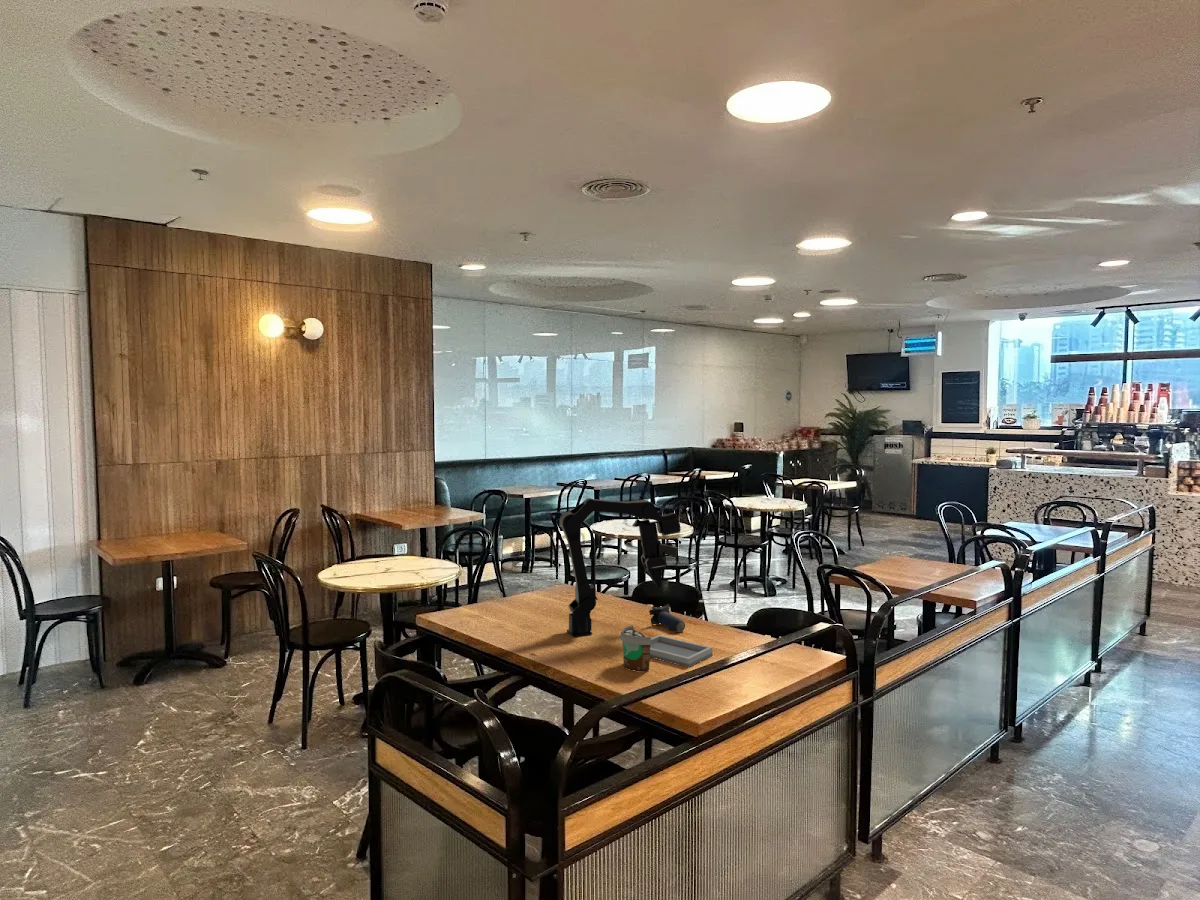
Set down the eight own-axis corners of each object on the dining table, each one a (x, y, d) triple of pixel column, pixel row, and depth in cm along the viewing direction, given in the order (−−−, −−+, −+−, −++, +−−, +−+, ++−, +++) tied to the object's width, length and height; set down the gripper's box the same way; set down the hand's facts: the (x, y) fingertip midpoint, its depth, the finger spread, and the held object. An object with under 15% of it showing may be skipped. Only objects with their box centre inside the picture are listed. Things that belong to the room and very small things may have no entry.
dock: (688, 667, 206) (688, 658, 206) (634, 653, 218) (634, 645, 218) (712, 655, 216) (712, 647, 216) (658, 642, 228) (659, 634, 228)
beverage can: (650, 629, 247) (673, 640, 237) (647, 608, 245) (671, 618, 236) (670, 620, 252) (694, 630, 242) (668, 599, 250) (692, 608, 241)
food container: (612, 661, 210) (612, 627, 210) (631, 659, 213) (632, 625, 212) (631, 676, 199) (631, 639, 199) (651, 672, 201) (651, 637, 201)
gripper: (678, 536, 231) (686, 585, 230) (669, 532, 250) (677, 577, 249) (643, 542, 230) (651, 591, 230) (637, 537, 249) (645, 583, 248)
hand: (657, 585), depth 239 cm, fingers open, 9 cm apart
